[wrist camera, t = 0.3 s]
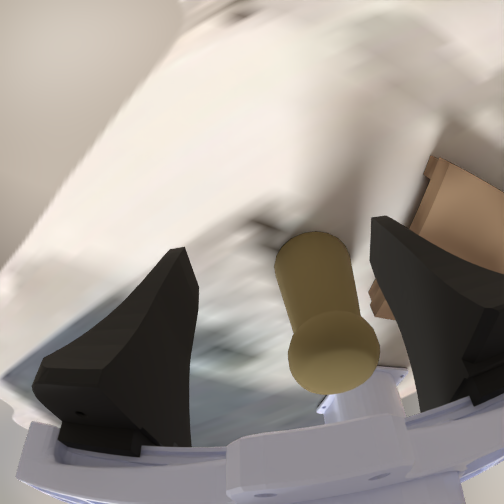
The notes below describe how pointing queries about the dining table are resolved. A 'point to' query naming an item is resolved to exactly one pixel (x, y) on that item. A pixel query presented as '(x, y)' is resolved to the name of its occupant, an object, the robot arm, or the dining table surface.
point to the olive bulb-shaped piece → (324, 315)
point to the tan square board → (456, 221)
